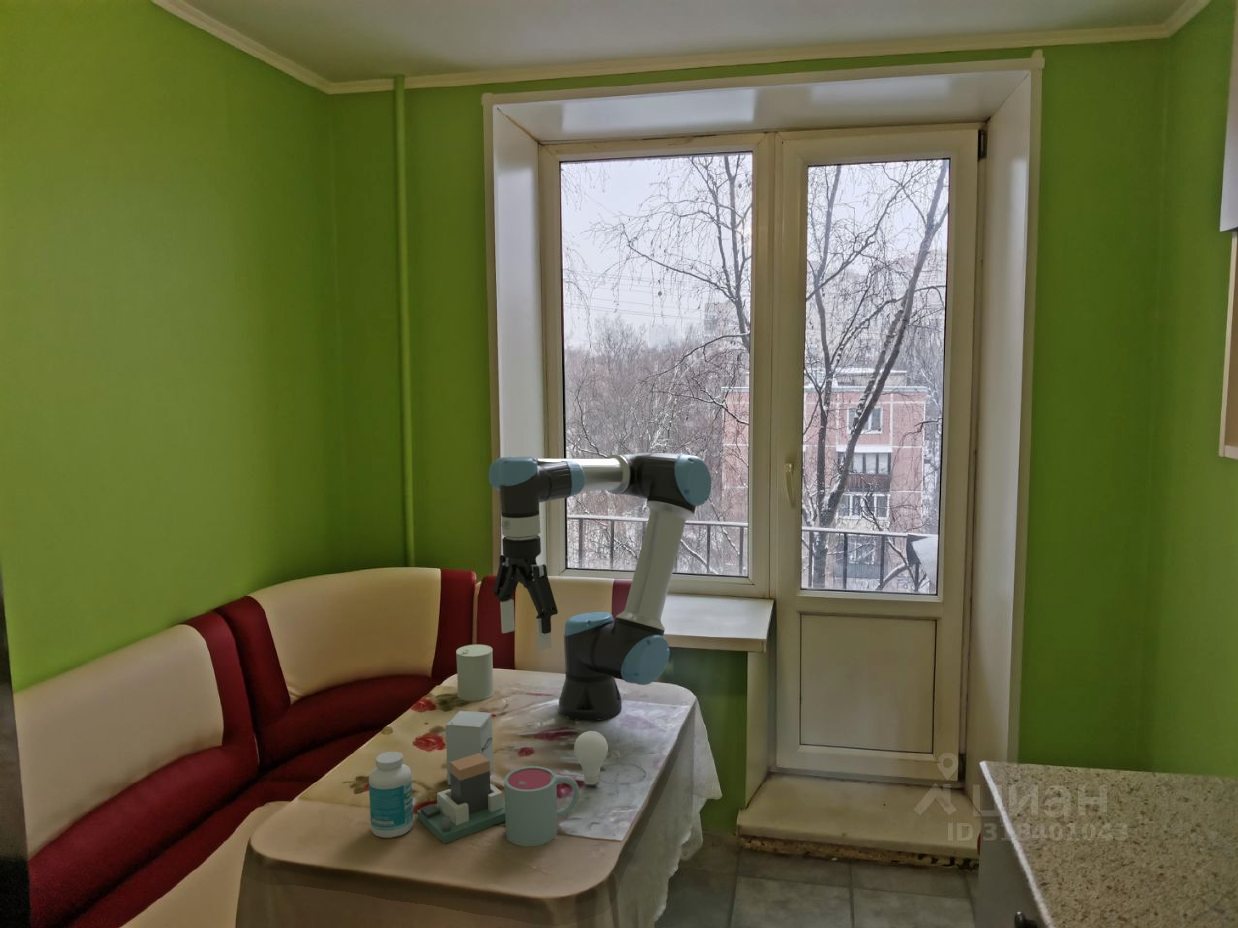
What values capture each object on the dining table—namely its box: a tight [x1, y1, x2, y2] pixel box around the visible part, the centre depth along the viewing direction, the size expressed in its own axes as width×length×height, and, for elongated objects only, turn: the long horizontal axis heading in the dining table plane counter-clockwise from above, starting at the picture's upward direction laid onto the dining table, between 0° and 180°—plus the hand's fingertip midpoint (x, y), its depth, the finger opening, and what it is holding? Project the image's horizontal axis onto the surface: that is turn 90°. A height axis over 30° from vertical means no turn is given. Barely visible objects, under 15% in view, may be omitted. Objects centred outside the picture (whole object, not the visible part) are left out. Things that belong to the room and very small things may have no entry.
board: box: [416, 782, 506, 845], centre depth 157 cm, size 14×11×4 cm
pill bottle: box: [368, 751, 414, 839], centre depth 153 cm, size 8×7×14 cm
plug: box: [450, 753, 491, 815], centre depth 157 cm, size 6×4×9 cm, turn 127°
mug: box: [503, 765, 581, 847], centre depth 152 cm, size 14×9×10 cm
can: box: [455, 644, 495, 702], centre depth 216 cm, size 9×9×12 cm
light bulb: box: [573, 730, 609, 787], centre depth 168 cm, size 7×7×11 cm
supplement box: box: [445, 710, 494, 786], centre depth 172 cm, size 7×7×13 cm
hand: (525, 639), depth 171 cm, fingers open, 13 cm apart
